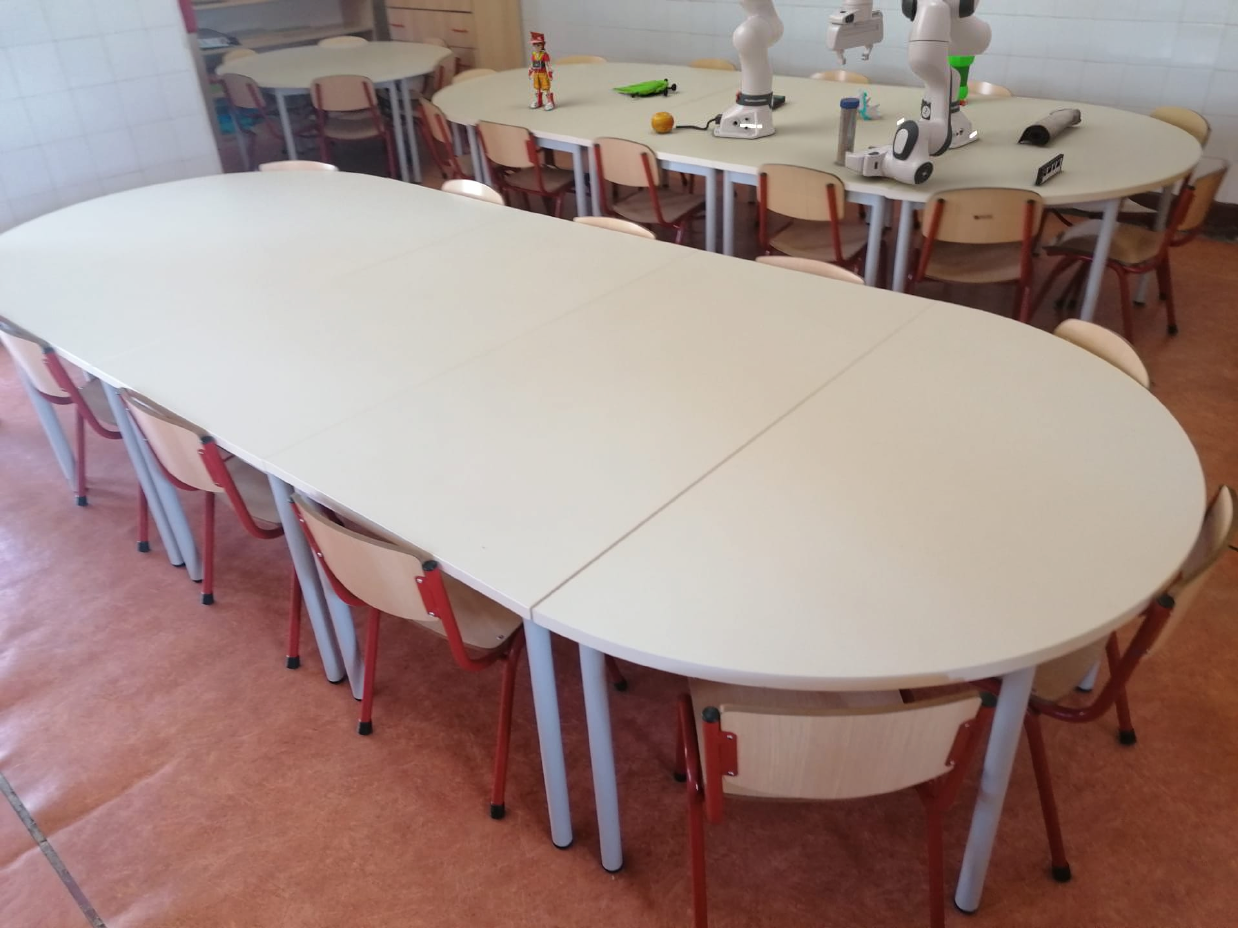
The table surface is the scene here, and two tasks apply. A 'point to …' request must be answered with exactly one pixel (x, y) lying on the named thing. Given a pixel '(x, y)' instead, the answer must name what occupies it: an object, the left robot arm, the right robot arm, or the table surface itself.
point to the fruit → (662, 122)
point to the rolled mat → (1050, 126)
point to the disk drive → (778, 100)
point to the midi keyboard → (1049, 169)
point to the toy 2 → (648, 88)
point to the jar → (846, 133)
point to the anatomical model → (866, 106)
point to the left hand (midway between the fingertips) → (853, 62)
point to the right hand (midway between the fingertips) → (858, 151)
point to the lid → (849, 103)
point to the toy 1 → (541, 71)
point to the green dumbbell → (962, 72)
